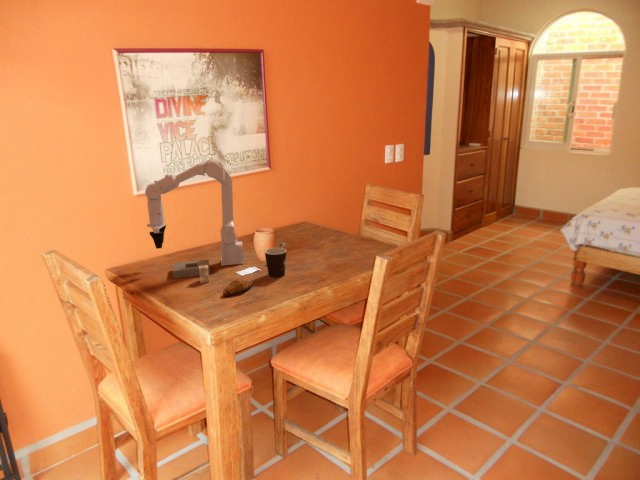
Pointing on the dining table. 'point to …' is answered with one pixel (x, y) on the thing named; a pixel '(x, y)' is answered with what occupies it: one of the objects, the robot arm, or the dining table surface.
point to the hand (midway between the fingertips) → (159, 245)
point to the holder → (188, 268)
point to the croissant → (237, 287)
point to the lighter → (282, 245)
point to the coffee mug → (276, 261)
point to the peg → (204, 274)
